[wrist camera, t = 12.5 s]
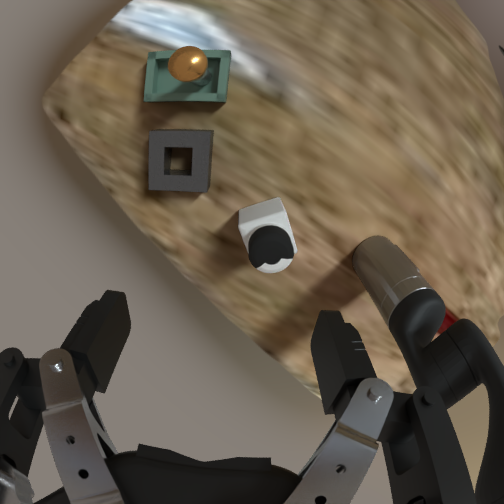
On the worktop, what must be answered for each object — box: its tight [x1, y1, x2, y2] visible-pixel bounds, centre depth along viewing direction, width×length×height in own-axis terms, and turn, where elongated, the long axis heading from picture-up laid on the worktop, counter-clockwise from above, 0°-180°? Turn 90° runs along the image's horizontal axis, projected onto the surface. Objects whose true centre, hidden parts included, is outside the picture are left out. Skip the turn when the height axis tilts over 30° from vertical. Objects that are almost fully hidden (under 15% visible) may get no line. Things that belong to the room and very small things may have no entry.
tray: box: [144, 50, 231, 103], centre depth 34 cm, size 12×8×3 cm, turn 84°
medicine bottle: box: [238, 197, 297, 273], centre depth 41 cm, size 7×7×12 cm
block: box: [149, 129, 214, 192], centre depth 39 cm, size 9×9×4 cm
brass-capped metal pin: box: [168, 46, 212, 86], centre depth 30 cm, size 4×4×11 cm
